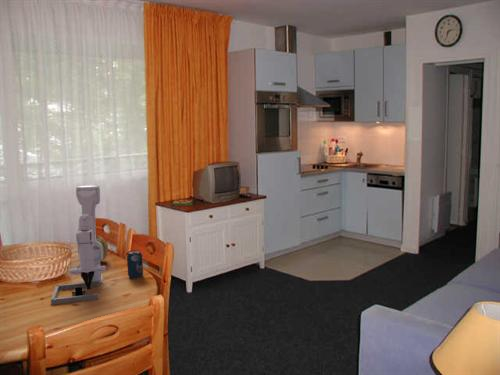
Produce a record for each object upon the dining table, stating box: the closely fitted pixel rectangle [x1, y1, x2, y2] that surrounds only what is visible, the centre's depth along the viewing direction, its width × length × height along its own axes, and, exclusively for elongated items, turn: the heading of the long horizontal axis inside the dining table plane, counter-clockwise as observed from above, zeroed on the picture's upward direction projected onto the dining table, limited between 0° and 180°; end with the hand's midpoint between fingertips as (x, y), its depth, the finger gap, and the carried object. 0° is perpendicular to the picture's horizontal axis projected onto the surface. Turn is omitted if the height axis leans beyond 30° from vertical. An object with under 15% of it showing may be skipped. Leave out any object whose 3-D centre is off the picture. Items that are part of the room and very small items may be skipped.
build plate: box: [71, 284, 87, 297], centre depth 207 cm, size 12×7×5 cm, turn 20°
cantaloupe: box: [77, 234, 109, 263], centre depth 249 cm, size 15×15×15 cm
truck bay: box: [50, 281, 101, 305], centre depth 208 cm, size 17×18×2 cm
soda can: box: [126, 249, 144, 280], centre depth 228 cm, size 7×7×12 cm
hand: (89, 288), depth 209 cm, fingers closed
